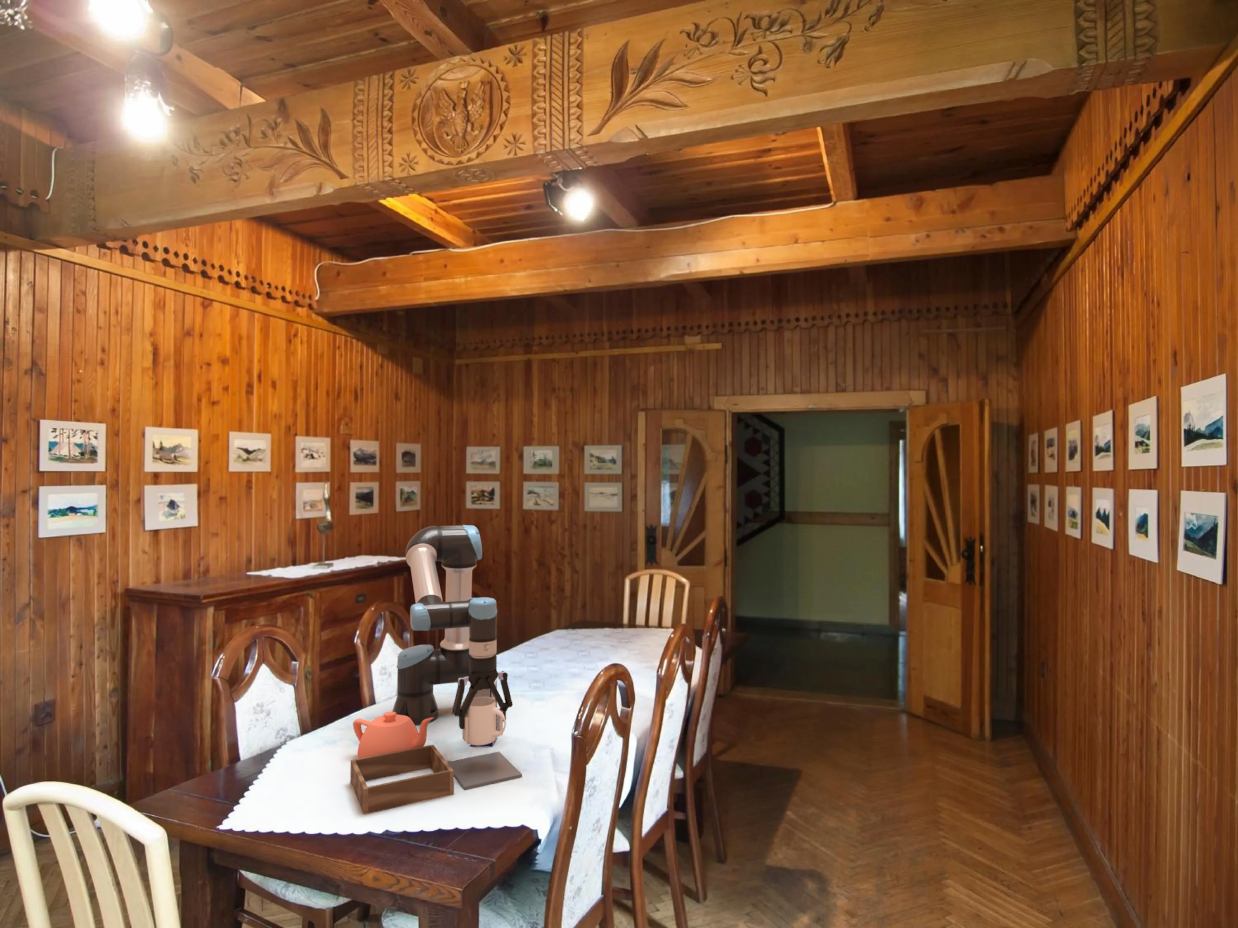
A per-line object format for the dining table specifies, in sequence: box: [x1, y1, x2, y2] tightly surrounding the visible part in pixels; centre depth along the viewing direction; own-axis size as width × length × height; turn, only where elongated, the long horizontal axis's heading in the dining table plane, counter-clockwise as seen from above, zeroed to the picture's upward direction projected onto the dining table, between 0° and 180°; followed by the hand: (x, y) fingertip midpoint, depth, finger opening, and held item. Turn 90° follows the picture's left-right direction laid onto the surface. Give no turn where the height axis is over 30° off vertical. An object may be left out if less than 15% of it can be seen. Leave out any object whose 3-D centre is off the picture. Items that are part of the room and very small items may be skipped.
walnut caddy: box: [349, 744, 455, 815], centre depth 187 cm, size 20×22×6 cm
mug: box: [465, 697, 507, 746], centre depth 198 cm, size 9×12×11 cm
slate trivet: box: [447, 751, 523, 791], centre depth 198 cm, size 18×16×1 cm
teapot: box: [352, 711, 434, 759], centre depth 205 cm, size 25×17×13 cm
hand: (482, 736), depth 198 cm, fingers closed on mug, 9 cm apart
